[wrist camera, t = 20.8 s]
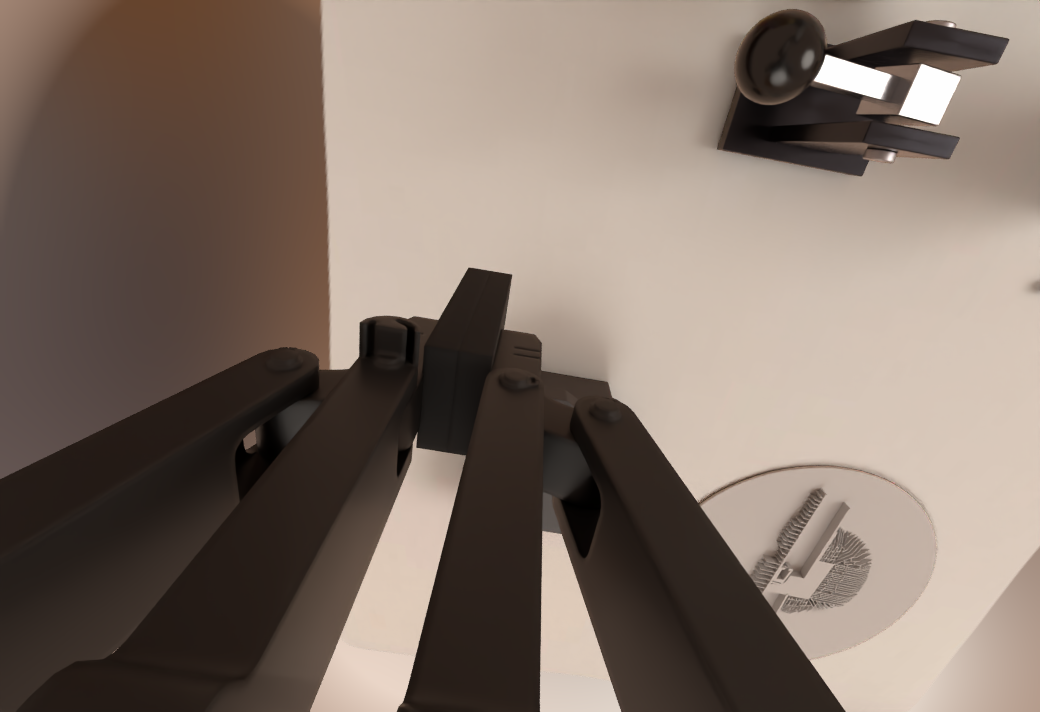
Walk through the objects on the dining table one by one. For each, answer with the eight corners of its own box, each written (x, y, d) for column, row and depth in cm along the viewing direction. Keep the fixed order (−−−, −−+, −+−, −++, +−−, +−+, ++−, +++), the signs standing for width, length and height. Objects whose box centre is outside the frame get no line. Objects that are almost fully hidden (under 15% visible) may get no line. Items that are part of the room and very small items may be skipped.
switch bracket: (716, 149, 34) (797, 154, 23) (753, 34, 31) (864, -22, 20) (852, 175, 34) (993, 191, 24) (900, 63, 31) (1086, 23, 21)
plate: (719, 435, 44) (724, 443, 43) (996, 504, 46) (1008, 513, 44) (617, 632, 55) (618, 642, 54) (842, 681, 57) (848, 692, 56)
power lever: (707, 97, 23) (758, 95, 20) (733, 7, 21) (793, -10, 18) (876, 138, 26) (943, 142, 23) (909, 63, 25) (985, 57, 22)
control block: (496, 355, 41) (489, 387, 36) (610, 374, 42) (620, 410, 36) (474, 488, 47) (465, 534, 42) (573, 504, 48) (577, 552, 42)
